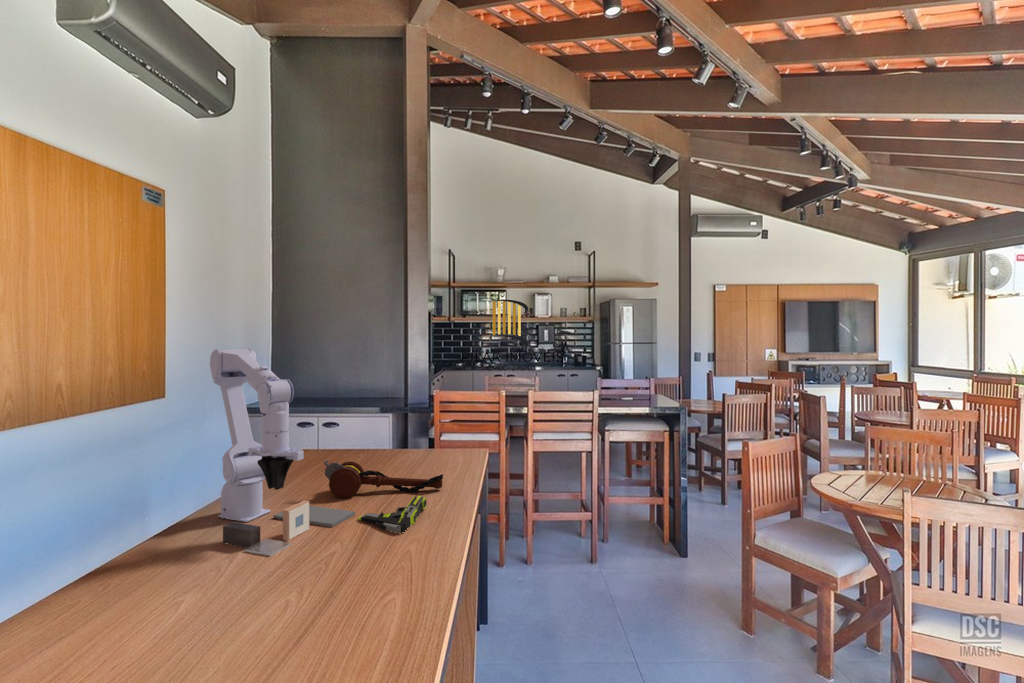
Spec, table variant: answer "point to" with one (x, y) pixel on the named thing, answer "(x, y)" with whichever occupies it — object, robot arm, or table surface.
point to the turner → (251, 539)
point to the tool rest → (324, 516)
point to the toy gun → (397, 516)
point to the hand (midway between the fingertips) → (275, 488)
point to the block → (295, 520)
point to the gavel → (369, 480)
